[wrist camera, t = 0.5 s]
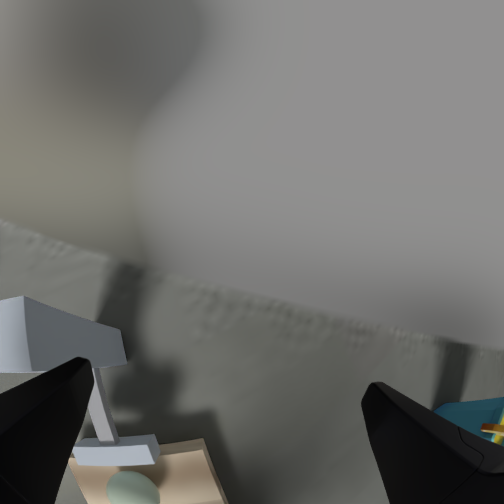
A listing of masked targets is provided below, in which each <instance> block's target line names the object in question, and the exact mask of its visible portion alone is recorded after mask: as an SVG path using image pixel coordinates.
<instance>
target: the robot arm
mask: <svg viewBox="0 0 504 504" xmlns="http://www.w3.org/2000/svg"><path fill="white" fill-rule="evenodd" d="M93 387H94V375H93V370H92V366H91V362H90V360H89V359H87V358H83V357H79V356H78V357H75V358H73V359H71V360H69V361H67V362H65V363H63V364H61V365H59V366H57V367H55V368H53V369H51V370H49V371H47V372H45V373H43V374H41V375H39V376H37V377H34V378H32V379H30V380H28V381H26V382H24V383H22V384H20V385H18V386H16V387H14V388H12V389H9V390H7V391H5V392H3V393H1V394H0V504H55V500H56V497H57V494H58V490H59V487H60V484H61V481H62V478H63V475H64V472H65V469H66V466H67V464H68V461H69V458H70V455H71V453H72V450H73V447H74V445H75V442H76V439H77V437H78V434H79V432H80V429H81V427H82V424H83V421H84V418H85V414H86V411H87V407H88V404H89V400H90V397H91V394H92V390H93ZM361 407H362V411H363V415H364V420H365V424H366V428H367V433H368V437H369V441H370V444H371V447H372V450H373V453H374V456H375V459H376V462H377V465H378V468H379V471H380V474H381V477H382V480H383V483H384V487H385V490H386V493H387V496H388V499H389V503H390V504H504V446H502V445H499V444H497V443H494V442H492V441H489V440H487V439H484V438H482V437H480V436H477V435H475V434H473V433H471V432H469V431H467V430H465V429H463V428H462V427H460V426H457V425H456V424H454V423H452V422H450V421H449V420H447V419H445V418H443V417H441V416H440V415H438V414H436V413H434V412H433V411H431V410H429V409H427V408H426V407H424V406H422V405H420V404H419V403H417V402H415V401H413V400H412V399H410V398H408V397H407V396H405V395H403V394H402V393H400V392H398V391H396V390H395V389H393V388H391V387H390V386H388V385H386V384H385V383H383V382H373V383H371V384H370V385H369V386H368V388H367V390H366V392H365V394H364V396H363V398H362V401H361Z"/></svg>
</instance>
